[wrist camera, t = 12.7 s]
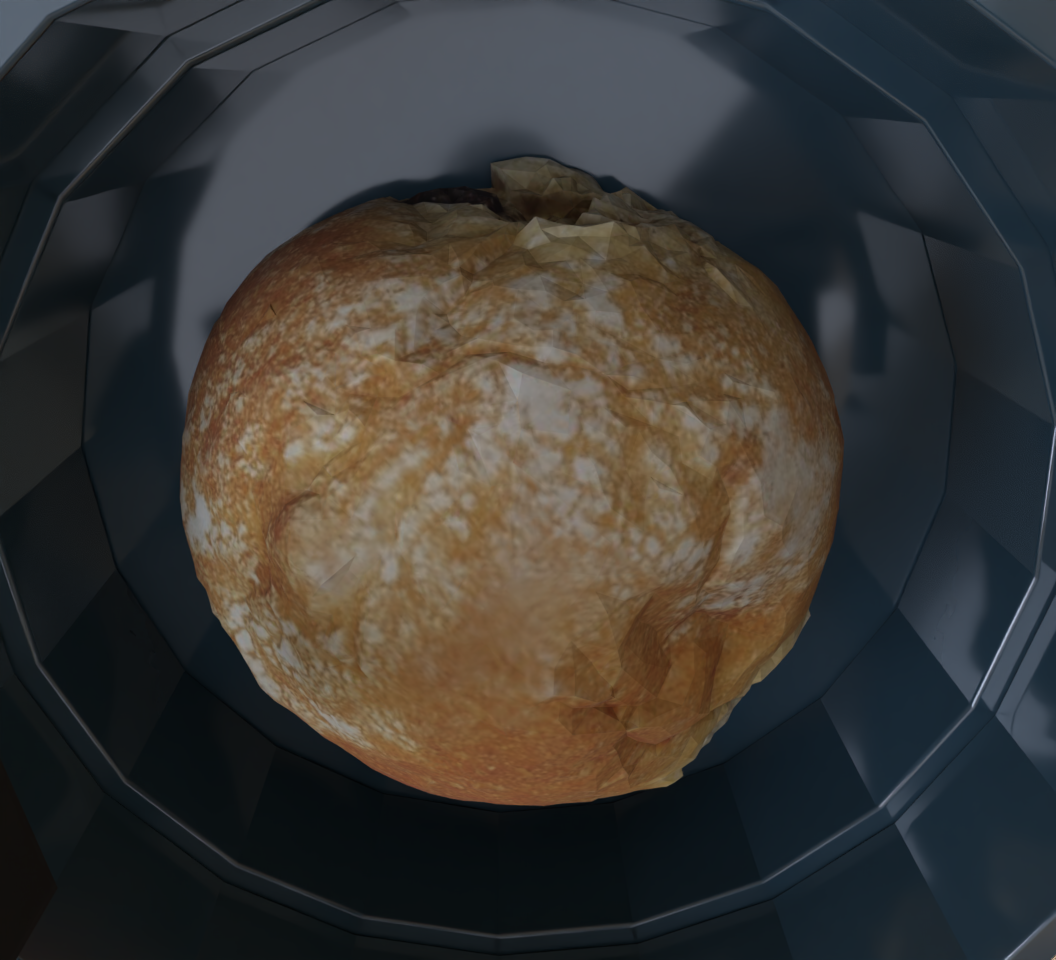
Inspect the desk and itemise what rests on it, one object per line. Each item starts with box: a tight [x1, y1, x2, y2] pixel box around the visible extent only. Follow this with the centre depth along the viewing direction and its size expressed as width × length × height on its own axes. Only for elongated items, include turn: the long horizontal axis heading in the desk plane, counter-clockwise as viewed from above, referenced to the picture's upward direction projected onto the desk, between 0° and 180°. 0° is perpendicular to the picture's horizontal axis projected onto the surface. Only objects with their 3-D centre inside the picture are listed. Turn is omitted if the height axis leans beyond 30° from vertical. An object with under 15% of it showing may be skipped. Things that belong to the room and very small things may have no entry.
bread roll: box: [180, 157, 844, 806], centre depth 15 cm, size 10×10×8 cm
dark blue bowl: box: [0, 0, 1056, 960], centre depth 14 cm, size 17×17×7 cm
